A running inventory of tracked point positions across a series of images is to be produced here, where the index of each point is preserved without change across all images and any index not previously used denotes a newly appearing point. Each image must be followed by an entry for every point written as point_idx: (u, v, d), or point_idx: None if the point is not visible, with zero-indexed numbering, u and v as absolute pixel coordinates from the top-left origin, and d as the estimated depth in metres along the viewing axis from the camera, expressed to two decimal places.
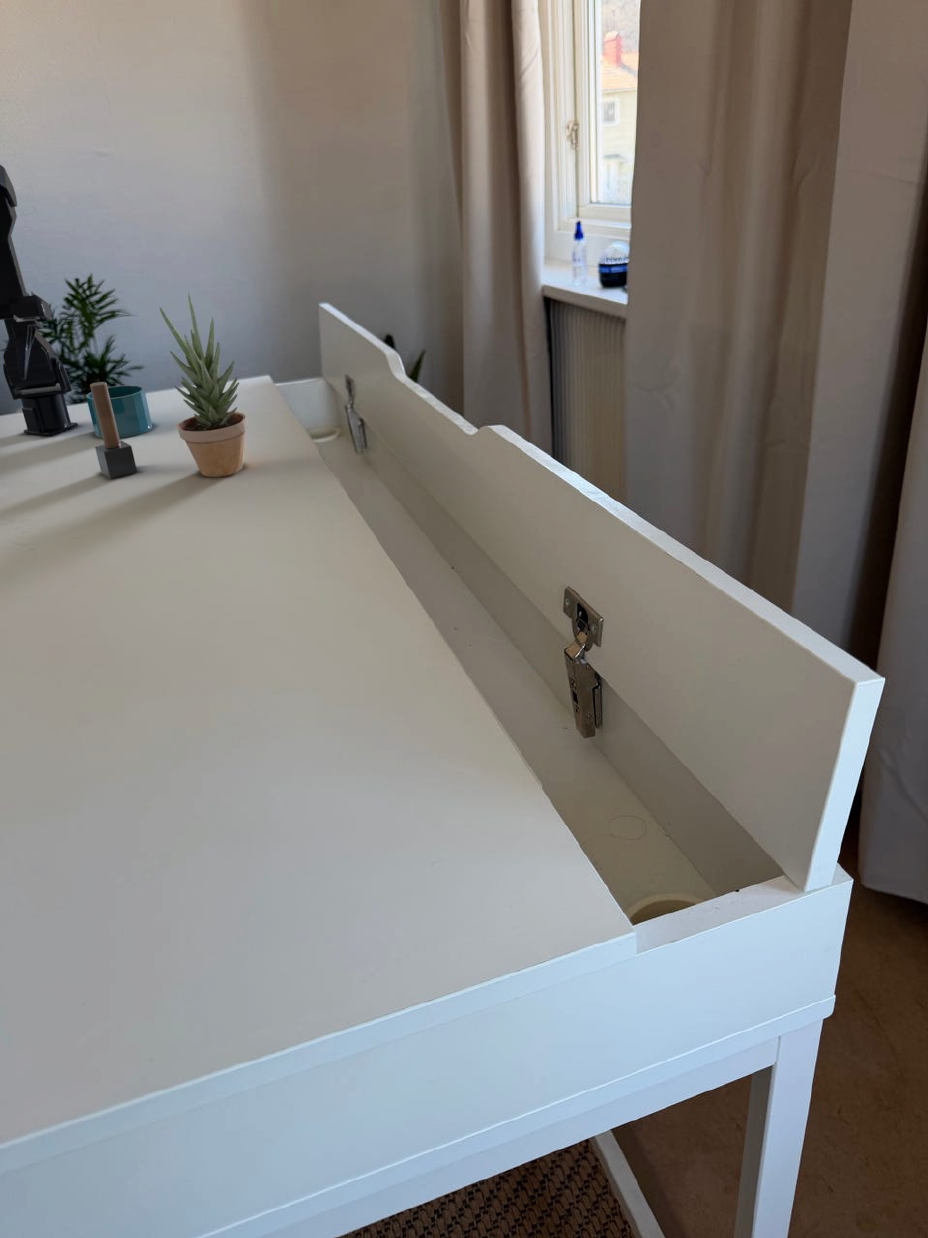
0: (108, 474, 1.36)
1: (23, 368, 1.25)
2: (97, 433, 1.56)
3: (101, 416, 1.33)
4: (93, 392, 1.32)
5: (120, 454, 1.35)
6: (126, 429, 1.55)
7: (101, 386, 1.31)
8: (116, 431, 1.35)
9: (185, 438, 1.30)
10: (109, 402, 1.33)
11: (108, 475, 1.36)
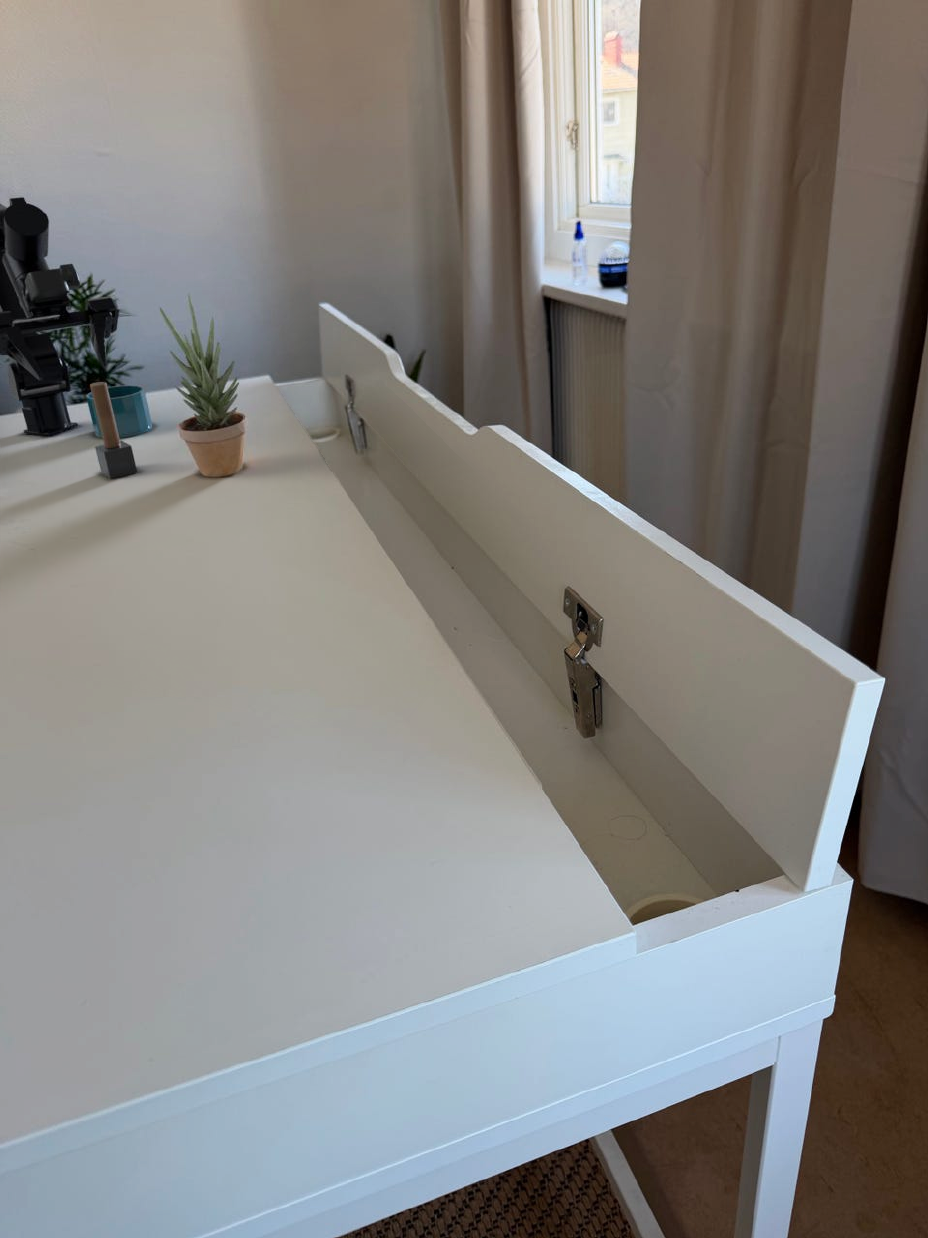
0: (108, 474, 1.36)
1: (104, 355, 1.39)
2: (97, 433, 1.56)
3: (101, 416, 1.33)
4: (93, 392, 1.32)
5: (120, 454, 1.35)
6: (126, 429, 1.55)
7: (101, 386, 1.31)
8: (116, 431, 1.35)
9: (185, 438, 1.30)
10: (109, 402, 1.33)
11: (108, 475, 1.36)
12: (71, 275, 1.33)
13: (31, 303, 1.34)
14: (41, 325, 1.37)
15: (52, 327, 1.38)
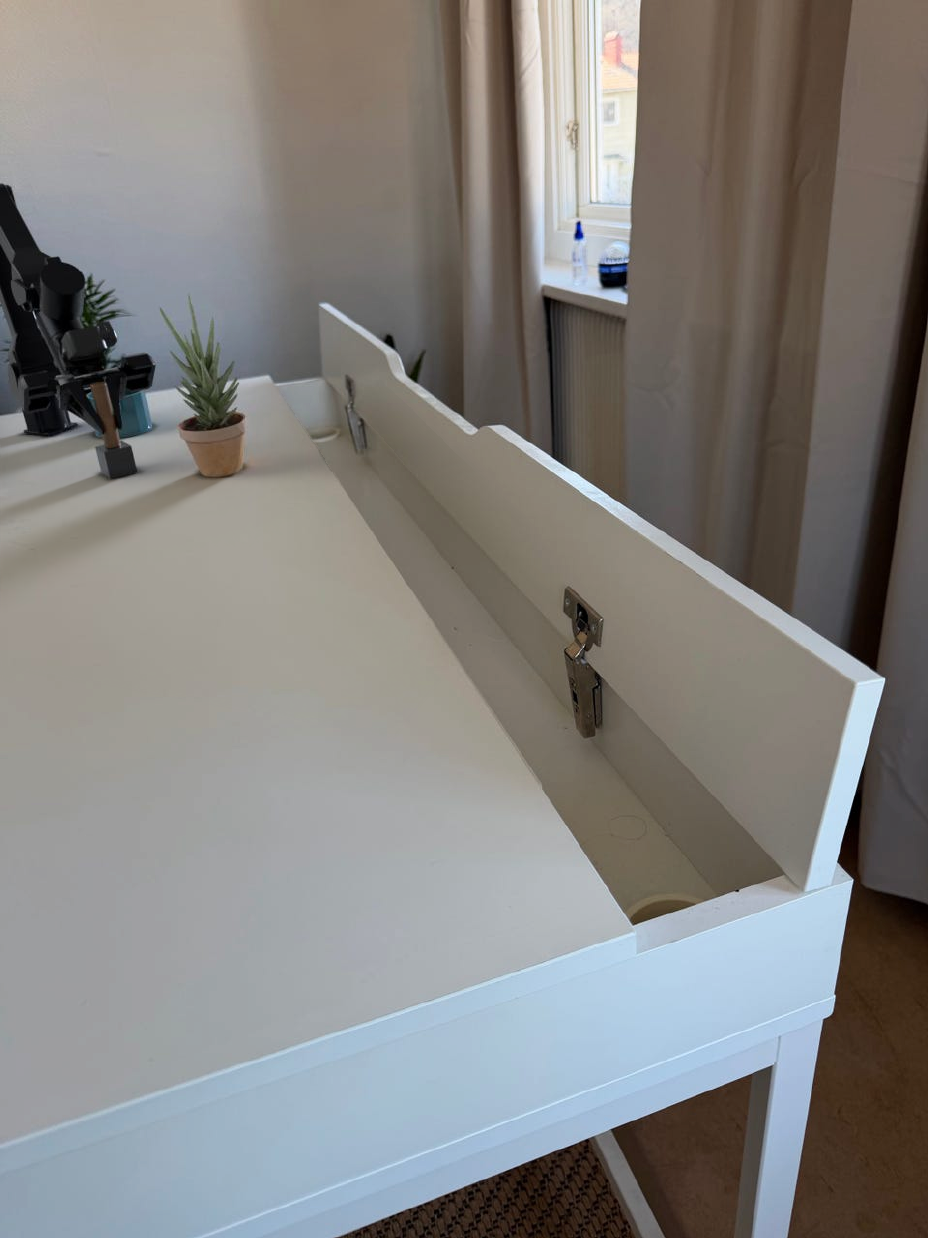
0: (108, 474, 1.36)
1: (120, 417, 1.34)
2: (97, 433, 1.56)
3: (102, 416, 1.33)
4: (93, 392, 1.32)
5: (120, 454, 1.35)
6: (126, 429, 1.55)
7: (101, 386, 1.31)
8: (116, 431, 1.35)
9: (185, 438, 1.30)
10: (109, 402, 1.33)
11: (108, 475, 1.36)
12: (109, 332, 1.31)
13: (68, 362, 1.32)
14: None
15: None
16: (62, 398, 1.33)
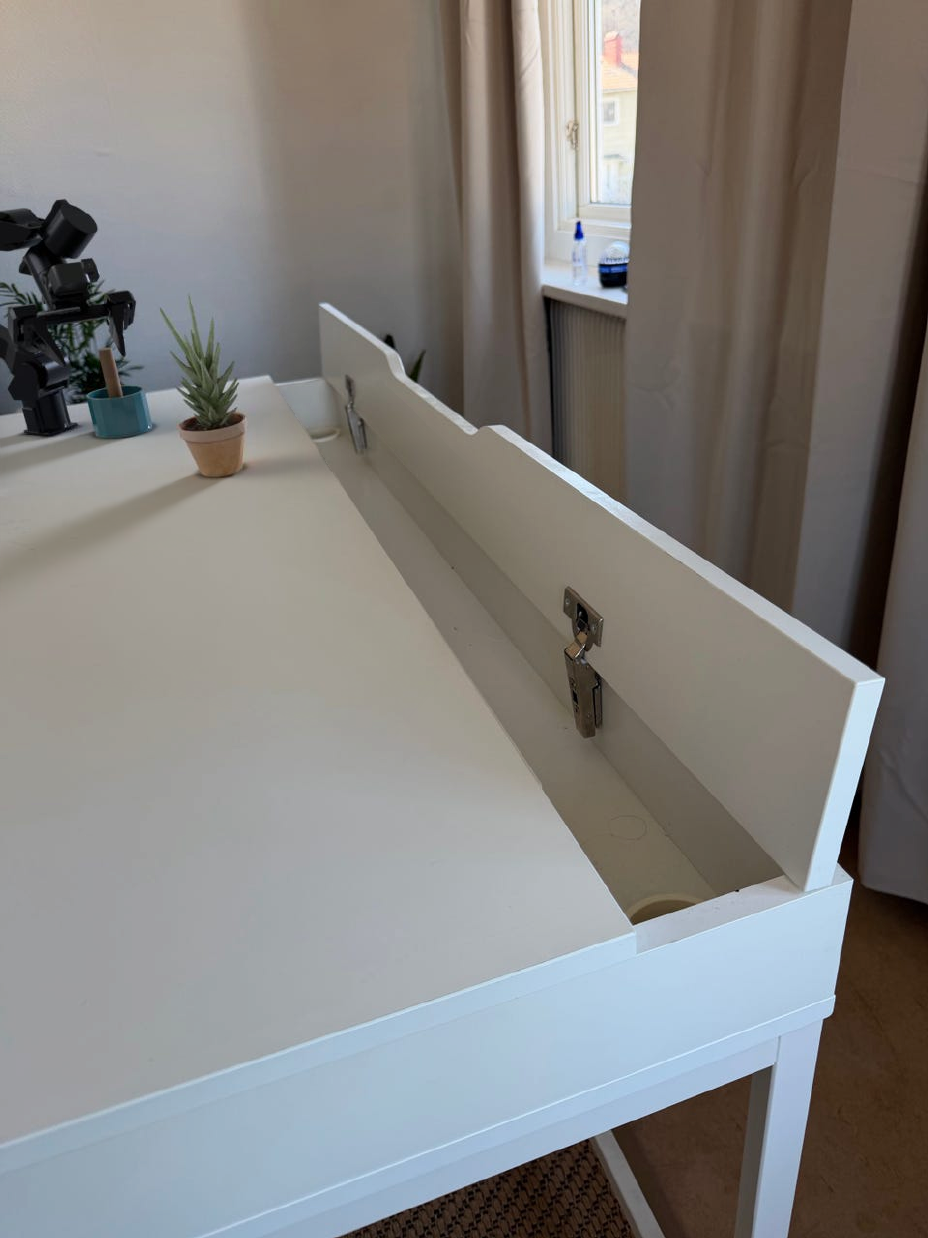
0: None
1: (124, 344, 1.47)
2: (97, 433, 1.56)
3: (108, 377, 1.54)
4: (101, 356, 1.52)
5: None
6: (126, 429, 1.55)
7: (107, 351, 1.52)
8: (120, 390, 1.56)
9: (185, 438, 1.30)
10: (114, 365, 1.54)
11: None
12: (92, 268, 1.41)
13: (54, 296, 1.42)
14: (63, 317, 1.45)
15: (73, 319, 1.46)
16: (26, 333, 1.41)
